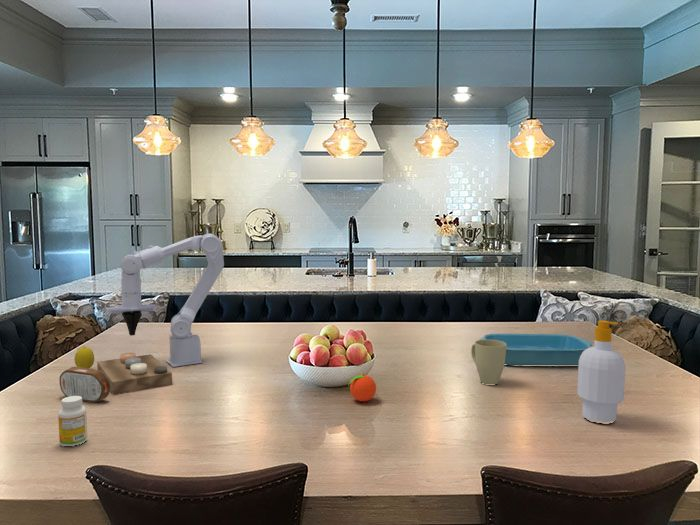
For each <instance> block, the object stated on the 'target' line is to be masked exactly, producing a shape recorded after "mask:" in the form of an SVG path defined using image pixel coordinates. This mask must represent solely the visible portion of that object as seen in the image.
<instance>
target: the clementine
mask: <svg viewBox="0 0 700 525" xmlns="http://www.w3.org/2000/svg"><path fill="white" fill-rule="evenodd" d="M347 387H350V388H349V389H350V390H349V391H350V394H351V395H352V397H353V398H354V399H355V400H356V401H359V402H365V403H366V402H368V401H370V400H372V399H373V398H374V396H375V394H376V391H377V385H376V383H375V380H374V379H373V378H372V377H370V376H369V375H368V374H359V375H356V376H354V377H353V378H352V379H350V380H349V382H348V386H347Z"/></svg>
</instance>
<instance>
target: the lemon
mask: <svg viewBox="0 0 700 525" xmlns="http://www.w3.org/2000/svg"><path fill="white" fill-rule="evenodd" d="M94 363H95V353H94V351H93V350H92V348H90V347H87V346H85V345H83V346H81V347H80V348H79V349H77V351H76V352H75V354H74V364H75V367H81V368H88V369H91V368H92V367H93V365H94Z"/></svg>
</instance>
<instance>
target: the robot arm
mask: <svg viewBox="0 0 700 525" xmlns="http://www.w3.org/2000/svg"><path fill="white" fill-rule="evenodd" d="M200 249H201V250H202V252H203V253H204V254H205V258H206V260H207V265H206V268H205V270H204V271H203V273H202V274H201V276H200V278H199V279H198V281H197V283H196V285H195V286H194V287H193V289H192V291H191V293H190V295H189V297H188V299H187V300H186V302H185V303H184V305H183V306H182V307H181V309H180V311H178V313H177V314H175V315H174V316H173V317H172V318H171V321H170V332H171V334H169V359H166V362H167V363H168V364H169V365H170V366H171V367H173V368H175V367H182V366H189V365H195V364H201V363H202V355H201V354H202V352H201V351H202V349H201V345H202V344H201V339H200V338H201V337H200V336H199V335H198V334H193V332H191V330H192V324H193V323H194V320H195V318H196V315H197V313H198V311H199V309H200V308H201V306H202V304H203V303H204V301H205V299H207V296H208V295H209V292H210V291H211V289H212V287H213V286H214V284H215V283H216V281H217V279H218V277H219V276H220V274H221V272H222V270H223V269H224V266H225V261H224V247H223V244H222V242H221V240H220V238H219V237H218V236H217V235H215V234H213V233H209V232H208V233H205V234H203V235H196V236H191V237H187V238H184V239H182V240H179V241H178V242H175V243H173V244H172V243H171V244H170V245H167V246H165V247H161V246H159V245H155V246H154V245H149V246H148V248H146V249H142V250H140V251H137V250H136V251H133V254H127V255H125V256H124V257H123V258H122V259H121V261H120V264H119V266H120V269H121V279H120V280H121V284H120V286H121V305H120V306H112V307H111V306H110V307H105V308H106V315H115V314H121V315H122V317H123V319H124V321H125V324H126V326H127V329H128V334H129V336H130V337H131V336H135V335H136V331H137V327H138V324H139V322H140V321H141V318H142V316H143V315H142V313H143V312H156V310H157V309H156V308H157V307H156V306H157V305H156V304H154V303H153V304H152V303H151V304H142V284H141V283H142V278H141V276H140V275H141V271H140V269H143V270H146V269H149V268H151V267H154V266H157V265H159V264H162V263H164V262H165V259H166V258H167V257H170V256H173V255H176V254H180V253H183V252H185V251H189V250H192V251H200Z"/></svg>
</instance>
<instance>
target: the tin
mask: <svg viewBox="0 0 700 525" xmlns="http://www.w3.org/2000/svg"><path fill="white" fill-rule="evenodd" d="M59 388H60V391H61V393H62V394H63V395H64V396H65V398H66V397H70V396H81V397H82V402H87V401H88V403H97V402H100V401H102V400H106V399H107V397H108V396H109V394H111V393H110V392H111V391H110V383H109V380H108V378H107V376H106V375H105V374H104V373H103V372H101V371H99V370H98V369H94V368H89V369H88V368H81V367H77V366H71V367H70V368H68V369H66V370H63V371H62V372H61V374H60V376H59Z"/></svg>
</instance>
